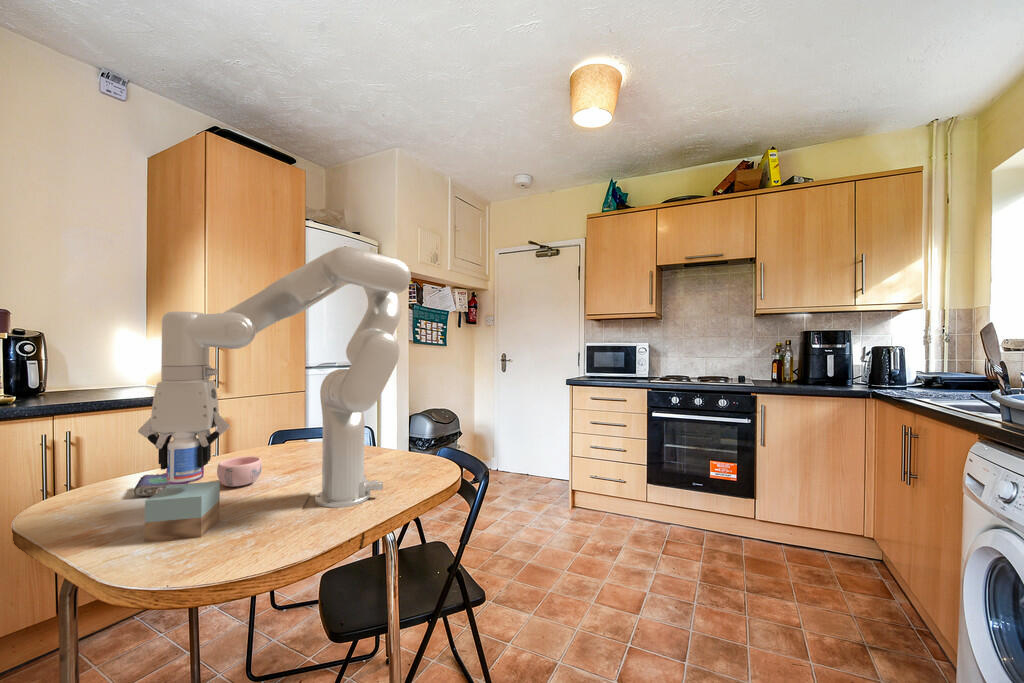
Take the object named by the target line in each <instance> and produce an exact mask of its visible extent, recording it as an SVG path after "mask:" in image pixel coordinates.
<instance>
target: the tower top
mask: <svg viewBox="0 0 1024 683" xmlns="http://www.w3.org/2000/svg"><path fill="white" fill-rule="evenodd" d="M220 485H221V482H220V480H218V481H207V482H204V481H203V482H190V483H188V484H175V485H168V486H167V487H165V488H164V489H162V490H161V491H159V492H158V493H156V494H155V495H153V496H149V497H148V498H147V499H145V500H144V523H145V522H156V521H167V520H178V519H189V518H201V517H202V516H203V515H205V514H206V513H207V512H208V511H209V510H210V509H211V508H212V507H213V506H214V505H215V504H216V503H217V502H218V501H219V500H220V499H221V498H220V495H221V494H220V493H221V492H220V491H221V488H220V487H221V486H220ZM220 501H221V500H220Z"/></svg>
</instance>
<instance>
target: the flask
mask: <svg viewBox="0 0 1024 683" xmlns="http://www.w3.org/2000/svg"><path fill="white" fill-rule="evenodd" d="M168 485H175V484H169V483H167V480H166V472H165V473H164V472H163V473H161V474H159V473H156V474H144V475H143V476H141V477H140V478H139V480H138V482H137V484H136V485H135V487H134V488H133V493H134V494H135V495H136V496H141V497H143V496H144V497H151V496H153V495H155V494H156V493H158V492H159V491H161V490H162V489H164V488H165V487H167V486H168Z"/></svg>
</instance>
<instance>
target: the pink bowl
mask: <svg viewBox="0 0 1024 683" xmlns="http://www.w3.org/2000/svg"><path fill="white" fill-rule="evenodd" d="M262 469H263V462H262V459H261V458H260V457H258V456H237V457H233V458H228V459H225V460H222V461H221V462H219V463H218V465H217V469H216V475H217V478H218V481H220V484H222V486H225V487H241V486H246V485H249V484H252V483H254V482H256V481H257V480H258V479H259V477H260V476H261V473H262Z"/></svg>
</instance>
